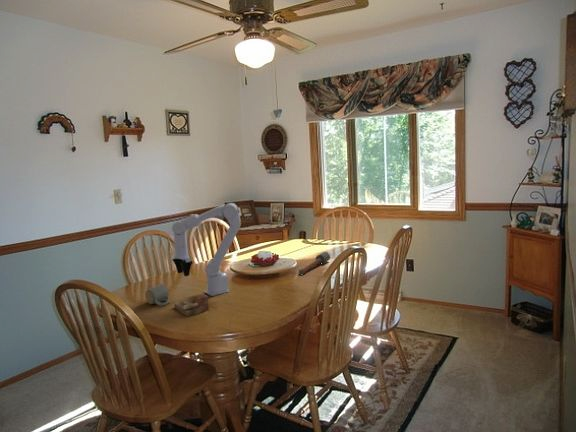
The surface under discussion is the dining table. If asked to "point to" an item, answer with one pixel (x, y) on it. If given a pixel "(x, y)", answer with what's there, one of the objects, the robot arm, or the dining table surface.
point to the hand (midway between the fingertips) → (183, 274)
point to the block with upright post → (199, 303)
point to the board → (187, 311)
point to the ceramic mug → (157, 295)
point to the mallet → (316, 262)
